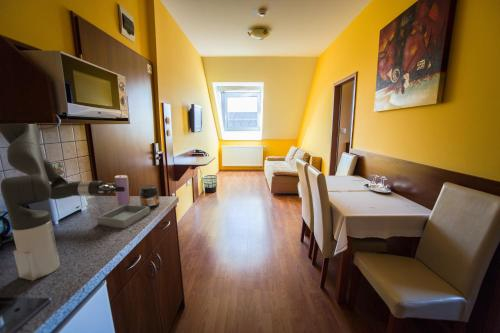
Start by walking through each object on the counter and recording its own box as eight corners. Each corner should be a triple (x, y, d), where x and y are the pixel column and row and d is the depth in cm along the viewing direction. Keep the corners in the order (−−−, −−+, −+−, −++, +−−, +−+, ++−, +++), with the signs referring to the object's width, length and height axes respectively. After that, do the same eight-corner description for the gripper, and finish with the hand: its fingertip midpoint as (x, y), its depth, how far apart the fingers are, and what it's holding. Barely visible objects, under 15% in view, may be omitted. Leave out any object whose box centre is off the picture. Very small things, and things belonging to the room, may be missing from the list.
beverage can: (124, 206, 110) (121, 177, 108) (114, 205, 111) (111, 177, 109) (132, 202, 116) (130, 175, 113) (123, 202, 117) (120, 174, 114)
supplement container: (152, 209, 127) (150, 190, 124) (136, 208, 129) (134, 188, 127) (163, 203, 137) (161, 184, 135) (148, 202, 139) (146, 184, 137)
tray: (124, 228, 104) (123, 220, 104) (98, 224, 108) (96, 217, 108) (150, 213, 121) (149, 206, 121) (126, 210, 126) (125, 204, 125)
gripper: (81, 185, 103) (119, 184, 104) (99, 177, 117) (132, 177, 118) (83, 200, 104) (121, 199, 106) (101, 191, 118) (133, 190, 120)
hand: (126, 187), depth 112 cm, fingers closed on beverage can, 5 cm apart
